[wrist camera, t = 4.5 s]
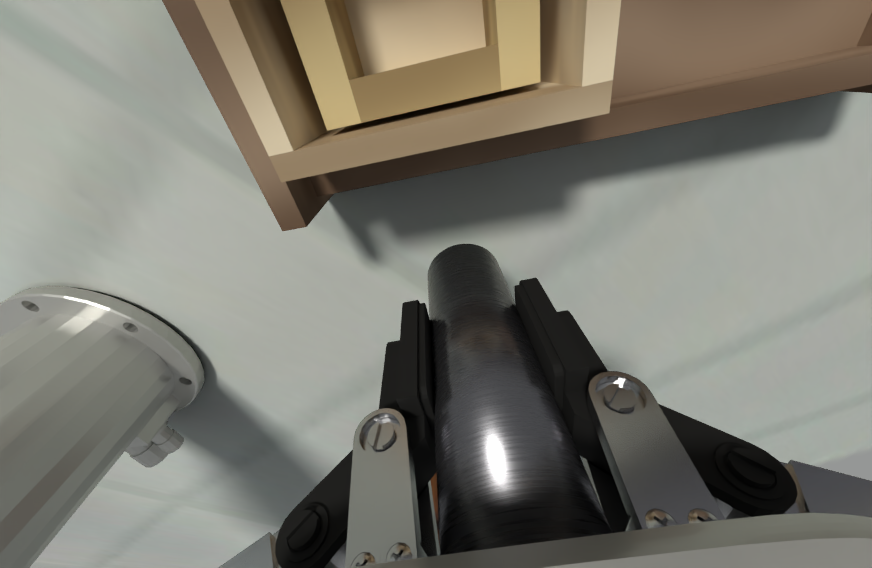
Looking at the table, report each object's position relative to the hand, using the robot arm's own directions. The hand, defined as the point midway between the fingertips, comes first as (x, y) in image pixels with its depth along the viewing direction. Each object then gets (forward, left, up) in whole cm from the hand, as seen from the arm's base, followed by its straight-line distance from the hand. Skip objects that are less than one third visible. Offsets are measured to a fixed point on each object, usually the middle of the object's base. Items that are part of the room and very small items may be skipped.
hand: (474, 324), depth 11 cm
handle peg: (0, 0, -3) cm, 3 cm away
